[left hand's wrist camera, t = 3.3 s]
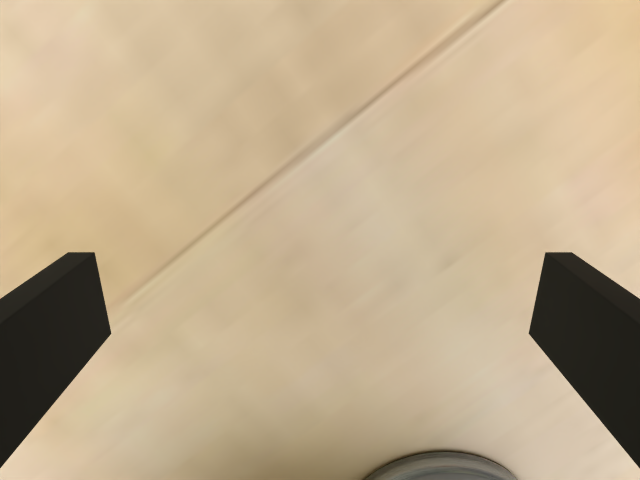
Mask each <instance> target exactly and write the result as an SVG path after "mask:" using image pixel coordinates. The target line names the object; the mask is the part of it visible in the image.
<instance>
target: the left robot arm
mask: <svg viewBox="0 0 640 480" xmlns="http://www.w3.org/2000/svg"><path fill="white" fill-rule="evenodd" d="M110 334H111V330H110V325H109V320H108V316H107V311H106V306H105V301H104V296H103V291H102V286H101V282H100V277H99V272H98V267H97V262H96V257H95V252H68V253H67V254H65V255H64V256H62V257H61V258H59V259H58V260H56V261H55V262H54V263H52V264H51V265H49V266H48V267H46V268H45V269H43V270H42V271H40V272H39V273H37V274H36V275H35V276H33V277H32V278H30V279H29V280H27V281H26V282H24V283H23V284H21V285H20V286H18V287H17V288H16V289H14V290H13V291H11V292H10V293H8V294H7V295H5V296H4V297H2V298H1V299H0V468H1V467H2V465H3V464H4V463H5V462H6V461H7V459H8V458H9V457H10V456H11V455H12V453H13V452H14V451H15V450H16V448H17V447H18V446H19V445H20V444H21V442H22V441H23V440H24V439H25V438H26V436H27V435H28V434H29V433H30V431H31V430H32V429H33V428H34V427H35V425H36V424H37V423H38V422H39V421H40V419H41V418H42V417H43V416H44V415H45V413H46V412H47V411H48V410H49V408H50V407H51V406H52V405H53V404H54V402H55V401H56V400H57V399H58V398H59V396H60V395H61V394H62V393H63V391H64V390H65V389H66V388H67V387H68V385H69V384H70V383H71V382H72V381H73V379H74V378H75V377H76V376H77V374H78V373H79V372H80V371H81V370H82V368H83V367H84V366H85V365H86V364H87V362H88V361H89V360H90V359H91V357H92V356H93V355H94V354H95V353H96V351H97V350H98V349H99V348H100V347H101V345H102V344H103V343H104V342H105V340H106V339H107V338H108V337H109V336H110ZM529 334H530V336H531V337H532V338H533V339H534V340H535V342H536V343H537V344H538V345H539V347H540V348H541V349H542V350H543V351H544V353H545V354H546V355H547V356H548V357H549V359H550V360H551V361H552V362H553V364H554V365H555V366H556V367H557V368H558V370H559V371H560V372H561V373H562V374H563V376H564V377H565V378H566V379H567V381H568V382H569V383H570V384H571V385H572V387H573V388H574V389H575V390H576V391H577V393H578V394H579V395H580V396H581V398H582V399H583V400H584V401H585V402H586V404H587V405H588V406H589V407H590V408H591V410H592V411H593V412H594V413H595V415H596V416H597V417H598V418H599V419H600V421H601V422H602V423H603V424H604V425H605V427H606V428H607V429H608V430H609V431H610V433H611V434H612V435H613V436H614V438H615V439H616V440H617V441H618V442H619V444H620V445H621V446H622V447H623V448H624V450H625V451H626V452H627V453H628V455H629V456H630V457H631V458H632V459H633V461H634V462H635V463H636V464H637V465H638V467H639V468H640V299H639V298H638V297H636V296H635V295H633V294H632V293H630V292H629V291H627V290H626V289H624V288H623V287H622V286H620V285H619V284H617V283H616V282H614V281H613V280H611V279H610V278H608V277H607V276H605V275H604V274H603V273H601V272H600V271H598V270H597V269H595V268H594V267H592V266H591V265H589V264H588V263H586V262H585V261H584V260H582V259H581V258H579V257H578V256H576V255H575V254H573V253H572V252H545V257H544V262H543V267H542V272H541V277H540V282H539V286H538V291H537V296H536V301H535V306H534V311H533V316H532V320H531V325H530V330H529ZM365 480H518V479H517V478H516V477H515V476H514V475H513V474H512V473H510V472H509V471H508V470H506V469H505V468H503V467H502V466H500V465H498V464H496V463H494V462H492V461H490V460H487V459H485V458H482V457H478V456H475V455H470V454H465V453H457V452H433V453H425V454H419V455H414V456H410V457H406V458H403V459H400V460H398V461H395V462H393V463H390V464H388V465H386V466H384V467H382V468H380V469H379V470H377V471H376V472H374V473H372V474H371V475H370V476H369V477H367V478H366V479H365Z"/></svg>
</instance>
